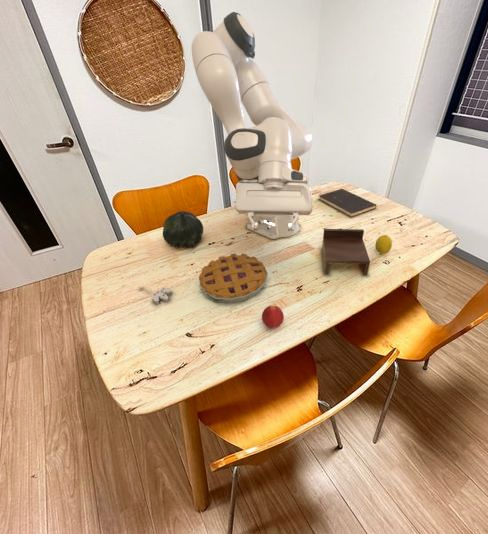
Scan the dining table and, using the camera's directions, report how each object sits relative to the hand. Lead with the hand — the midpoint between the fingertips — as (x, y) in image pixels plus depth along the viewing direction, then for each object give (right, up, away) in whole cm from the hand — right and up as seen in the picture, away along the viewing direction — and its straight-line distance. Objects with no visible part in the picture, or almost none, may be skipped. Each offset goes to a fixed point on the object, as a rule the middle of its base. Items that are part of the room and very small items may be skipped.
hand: (272, 230), depth 72 cm
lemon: (+40, -5, +30) cm, 50 cm away
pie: (-13, -15, +19) cm, 27 cm away
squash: (-35, 0, +39) cm, 52 cm away
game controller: (-37, -18, +16) cm, 44 cm away
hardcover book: (+35, +21, +64) cm, 76 cm away
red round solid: (0, -26, +5) cm, 26 cm away
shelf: (+25, -8, +27) cm, 37 cm away
